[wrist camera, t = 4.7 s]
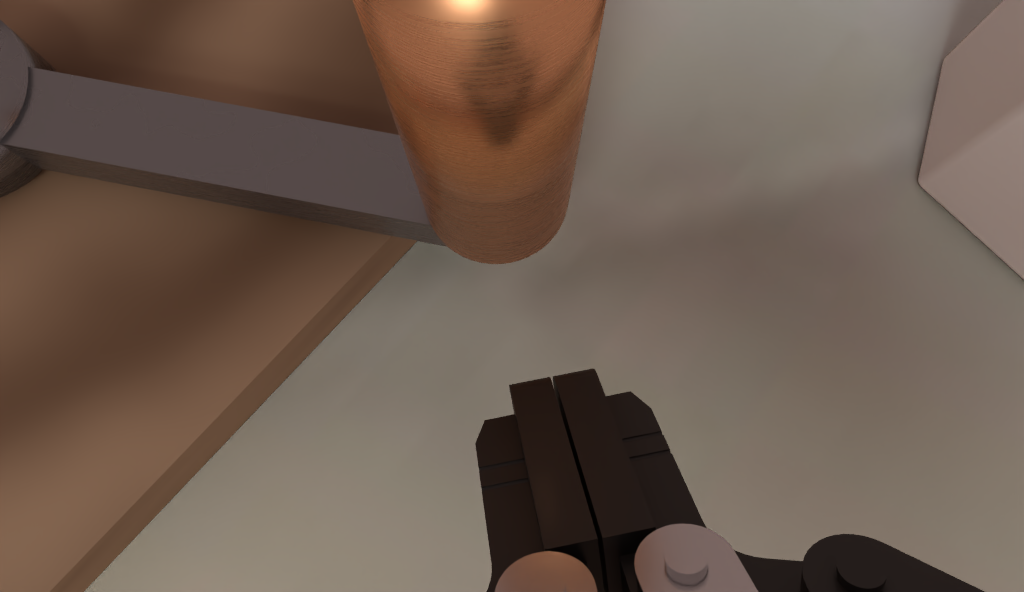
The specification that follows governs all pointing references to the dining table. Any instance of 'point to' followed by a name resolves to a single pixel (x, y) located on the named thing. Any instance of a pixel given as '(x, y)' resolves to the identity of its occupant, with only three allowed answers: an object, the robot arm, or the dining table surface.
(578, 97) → the lever
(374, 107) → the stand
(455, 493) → the dining table surface
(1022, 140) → the jar
